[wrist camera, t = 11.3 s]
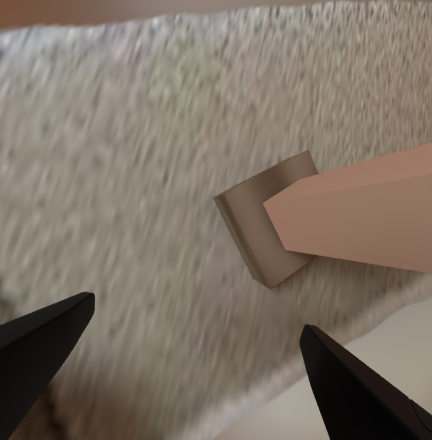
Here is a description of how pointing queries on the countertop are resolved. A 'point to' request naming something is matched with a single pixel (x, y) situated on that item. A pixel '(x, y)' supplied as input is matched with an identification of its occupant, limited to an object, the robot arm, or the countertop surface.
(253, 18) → the countertop surface
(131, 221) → the countertop surface
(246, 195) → the walnut block
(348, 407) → the robot arm
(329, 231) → the column
